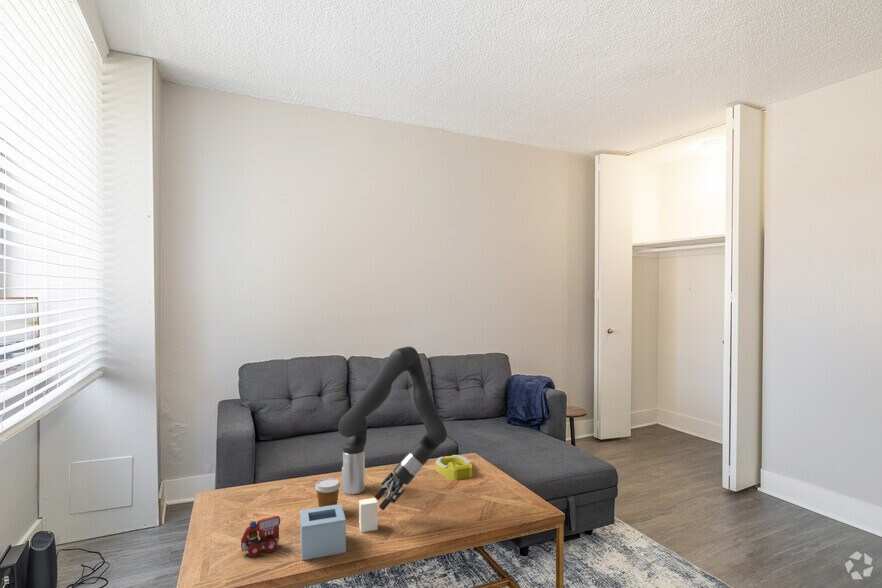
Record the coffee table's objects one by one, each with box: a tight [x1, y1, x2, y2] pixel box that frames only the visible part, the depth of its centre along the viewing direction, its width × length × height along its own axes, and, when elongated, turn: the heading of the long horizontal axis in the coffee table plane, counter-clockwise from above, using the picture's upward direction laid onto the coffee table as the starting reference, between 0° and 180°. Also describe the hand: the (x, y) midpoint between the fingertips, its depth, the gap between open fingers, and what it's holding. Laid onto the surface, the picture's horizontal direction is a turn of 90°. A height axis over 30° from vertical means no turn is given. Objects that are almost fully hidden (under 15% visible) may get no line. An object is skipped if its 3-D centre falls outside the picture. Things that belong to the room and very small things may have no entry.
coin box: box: [299, 503, 347, 561], centre depth 161 cm, size 14×12×11 cm
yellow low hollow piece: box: [435, 454, 473, 481], centre depth 226 cm, size 16×21×5 cm
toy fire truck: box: [240, 515, 281, 557], centre depth 159 cm, size 7×12×10 cm, turn 118°
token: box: [358, 497, 379, 533], centre depth 173 cm, size 6×4×10 cm, turn 109°
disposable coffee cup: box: [314, 477, 341, 507], centre depth 185 cm, size 10×10×12 cm
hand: (378, 503), depth 174 cm, fingers open, 8 cm apart
